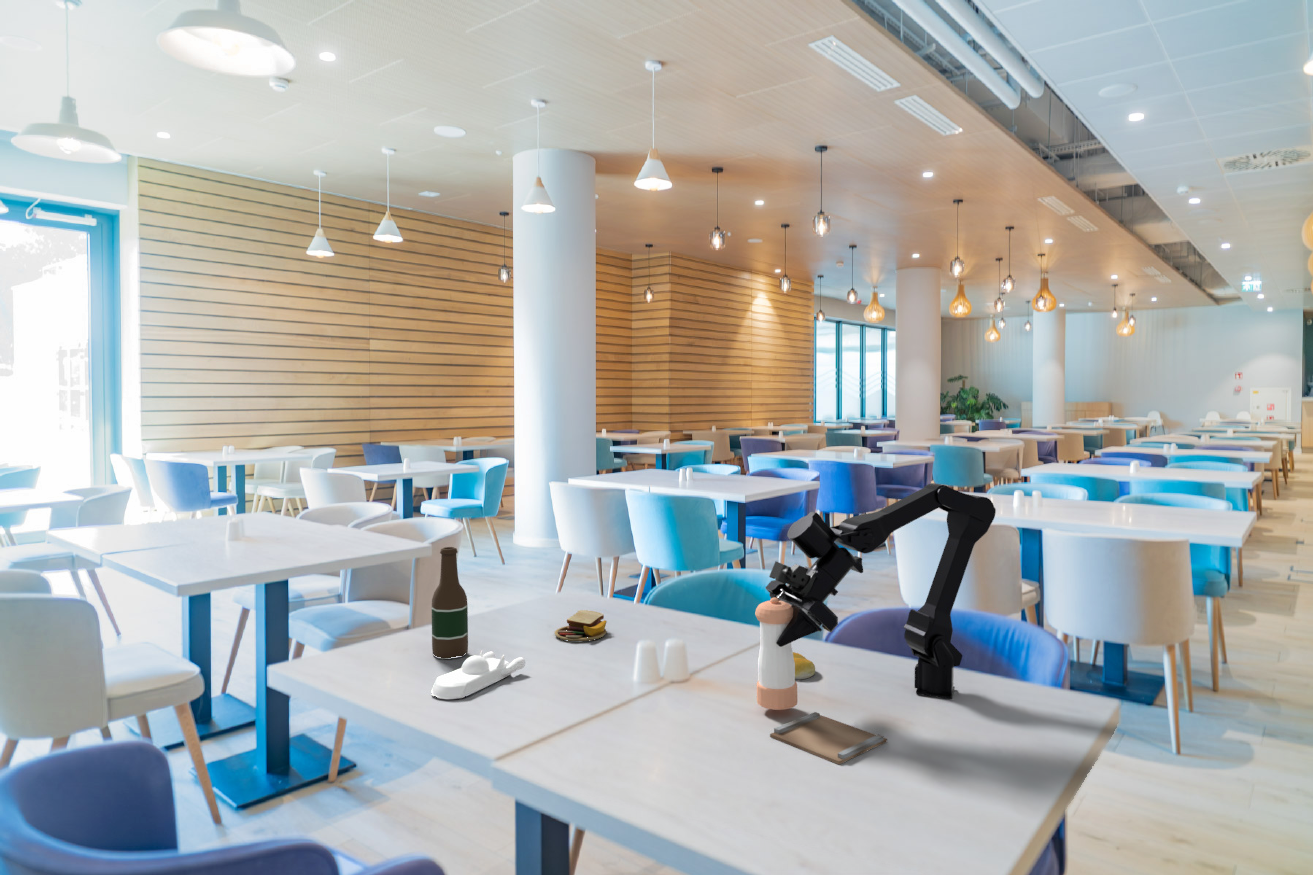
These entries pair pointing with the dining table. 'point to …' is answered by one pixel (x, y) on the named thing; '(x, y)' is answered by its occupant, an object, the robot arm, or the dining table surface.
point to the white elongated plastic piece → (474, 675)
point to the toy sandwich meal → (583, 627)
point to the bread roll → (803, 667)
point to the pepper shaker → (775, 657)
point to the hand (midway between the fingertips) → (770, 640)
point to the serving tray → (827, 737)
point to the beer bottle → (449, 610)
